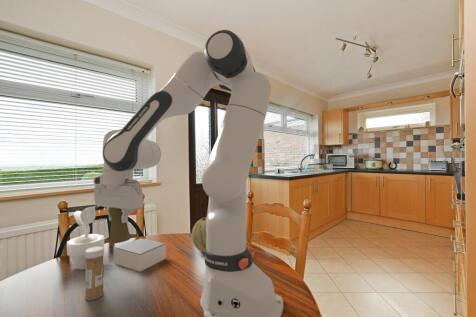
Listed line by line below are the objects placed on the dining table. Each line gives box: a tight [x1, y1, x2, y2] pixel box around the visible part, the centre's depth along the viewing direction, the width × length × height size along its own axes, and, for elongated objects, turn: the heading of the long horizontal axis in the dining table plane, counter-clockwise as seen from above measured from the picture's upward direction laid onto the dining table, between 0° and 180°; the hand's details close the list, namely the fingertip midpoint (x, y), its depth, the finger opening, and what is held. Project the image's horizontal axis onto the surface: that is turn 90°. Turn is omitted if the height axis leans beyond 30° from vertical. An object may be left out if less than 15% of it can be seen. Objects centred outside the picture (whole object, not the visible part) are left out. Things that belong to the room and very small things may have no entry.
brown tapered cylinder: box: [108, 208, 131, 244], centre depth 73 cm, size 6×6×11 cm
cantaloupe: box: [191, 216, 207, 253], centre depth 96 cm, size 15×15×15 cm
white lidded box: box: [114, 237, 167, 272], centre depth 87 cm, size 14×12×6 cm
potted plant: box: [66, 205, 106, 271], centre depth 83 cm, size 13×12×25 cm
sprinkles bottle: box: [84, 246, 105, 301], centre depth 64 cm, size 5×5×14 cm
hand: (118, 221), depth 73 cm, fingers closed on brown tapered cylinder, 4 cm apart
